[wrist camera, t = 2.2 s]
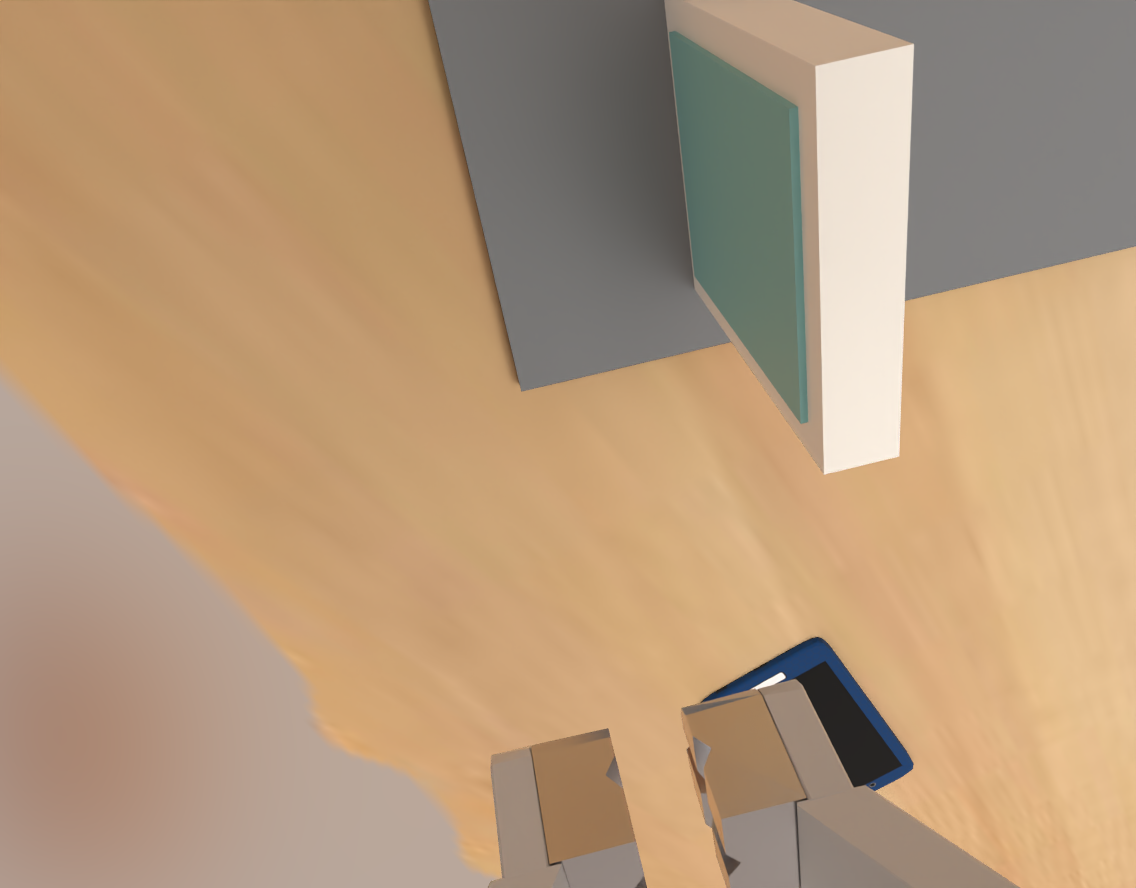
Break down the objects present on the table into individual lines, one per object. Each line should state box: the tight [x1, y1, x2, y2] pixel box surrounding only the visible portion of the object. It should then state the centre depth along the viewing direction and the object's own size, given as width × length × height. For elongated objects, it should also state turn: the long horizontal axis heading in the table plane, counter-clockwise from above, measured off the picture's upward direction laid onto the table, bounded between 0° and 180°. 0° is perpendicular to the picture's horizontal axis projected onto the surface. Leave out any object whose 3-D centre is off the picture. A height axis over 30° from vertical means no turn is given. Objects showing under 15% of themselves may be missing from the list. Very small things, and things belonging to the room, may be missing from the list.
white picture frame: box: [664, 0, 914, 475], centre depth 26 cm, size 10×2×12 cm, turn 10°
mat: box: [428, 0, 1136, 392], centre depth 31 cm, size 15×30×1 cm, turn 100°
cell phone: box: [702, 637, 913, 791], centre depth 50 cm, size 7×14×1 cm, turn 33°
